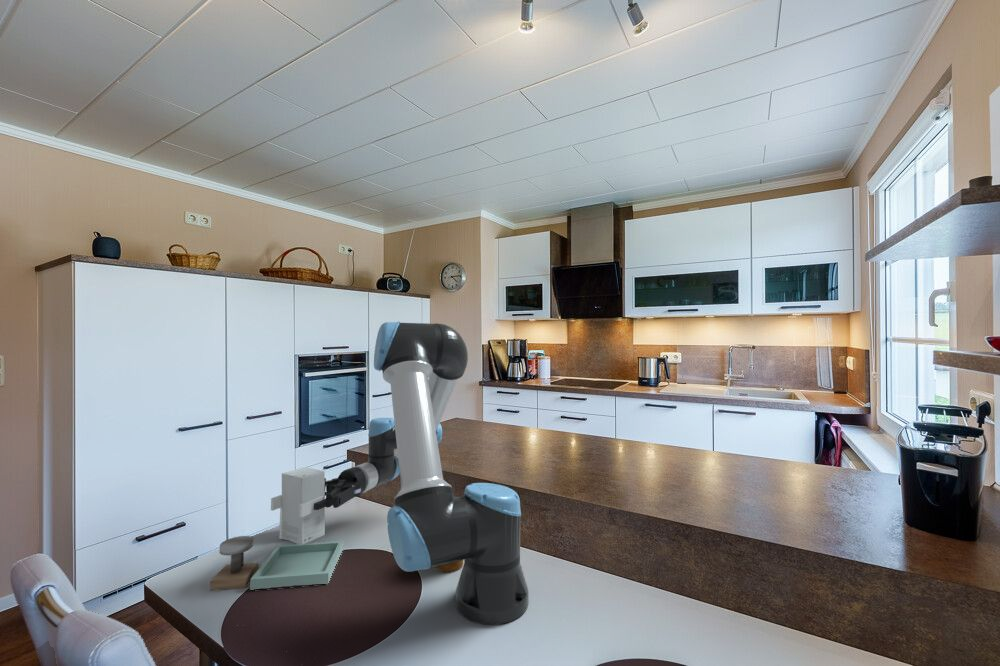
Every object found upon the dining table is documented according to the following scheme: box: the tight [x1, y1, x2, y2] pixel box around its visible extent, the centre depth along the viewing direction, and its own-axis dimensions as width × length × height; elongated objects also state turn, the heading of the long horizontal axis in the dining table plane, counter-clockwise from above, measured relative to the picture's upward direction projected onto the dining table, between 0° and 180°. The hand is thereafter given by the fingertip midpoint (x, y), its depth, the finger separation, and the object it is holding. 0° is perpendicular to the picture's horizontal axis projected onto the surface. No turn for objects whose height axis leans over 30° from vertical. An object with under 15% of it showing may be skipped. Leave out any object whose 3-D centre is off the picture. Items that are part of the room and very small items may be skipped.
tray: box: [249, 540, 344, 591], centre depth 98 cm, size 16×16×2 cm
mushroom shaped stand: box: [209, 535, 260, 591], centre depth 93 cm, size 7×7×8 cm
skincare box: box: [281, 466, 326, 545], centre depth 99 cm, size 8×7×16 cm
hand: (285, 507), depth 95 cm, fingers closed on skincare box, 9 cm apart
